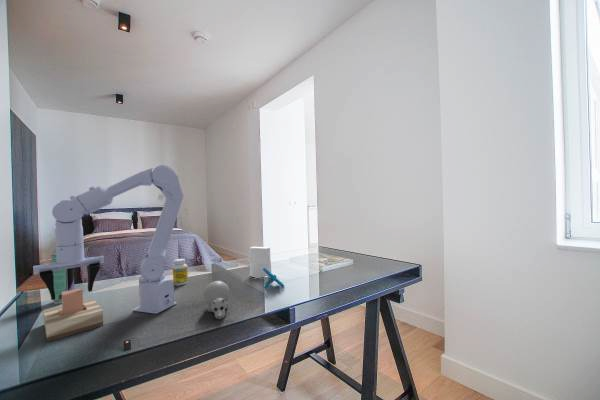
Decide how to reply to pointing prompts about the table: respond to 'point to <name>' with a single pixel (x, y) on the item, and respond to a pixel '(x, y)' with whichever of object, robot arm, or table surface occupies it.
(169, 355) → the table surface
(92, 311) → the socket block
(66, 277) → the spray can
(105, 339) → the table surface
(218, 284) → the grey skull
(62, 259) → the robot arm
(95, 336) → the table surface
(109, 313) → the table surface
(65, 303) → the peg
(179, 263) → the supplement bottle
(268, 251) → the white rectangular block
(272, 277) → the teal crossed bar figure
